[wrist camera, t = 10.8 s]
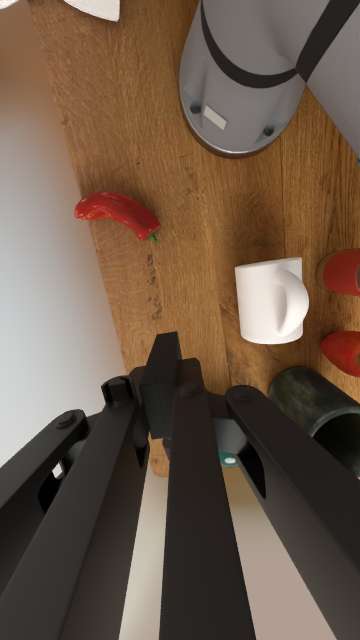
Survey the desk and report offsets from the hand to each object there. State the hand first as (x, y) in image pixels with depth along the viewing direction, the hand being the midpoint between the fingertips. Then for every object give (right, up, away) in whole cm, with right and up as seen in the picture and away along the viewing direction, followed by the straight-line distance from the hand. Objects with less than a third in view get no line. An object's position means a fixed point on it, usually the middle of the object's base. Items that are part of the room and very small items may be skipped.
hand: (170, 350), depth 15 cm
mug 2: (+22, -12, +23) cm, 34 cm away
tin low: (+25, +10, +17) cm, 32 cm away
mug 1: (+13, +6, +18) cm, 23 cm away
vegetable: (-2, +14, +14) cm, 20 cm away
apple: (+26, -1, +20) cm, 33 cm away
